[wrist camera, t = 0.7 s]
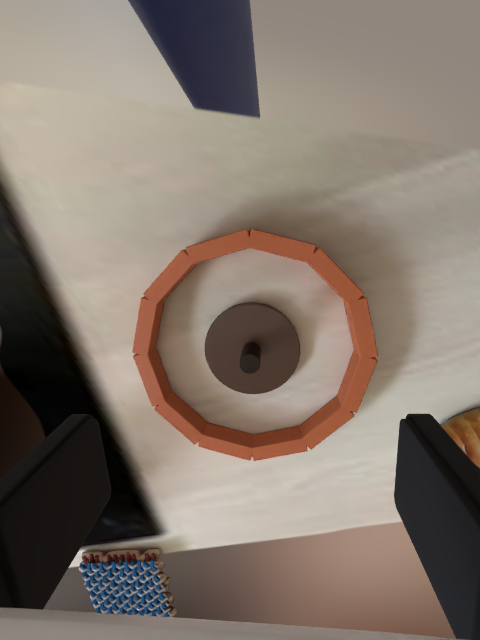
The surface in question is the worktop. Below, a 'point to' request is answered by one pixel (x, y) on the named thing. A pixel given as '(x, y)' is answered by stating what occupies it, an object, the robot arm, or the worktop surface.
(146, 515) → the worktop surface
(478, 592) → the robot arm
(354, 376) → the ring
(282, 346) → the ring post
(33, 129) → the worktop surface
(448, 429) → the pastry
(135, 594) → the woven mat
